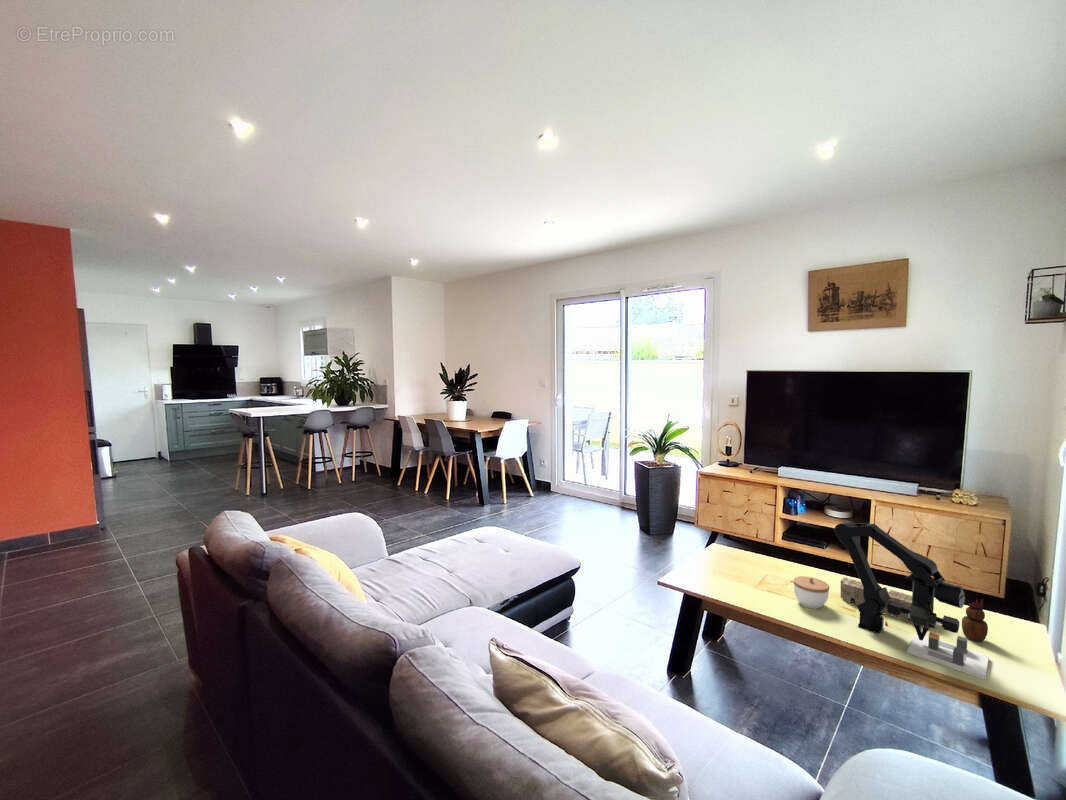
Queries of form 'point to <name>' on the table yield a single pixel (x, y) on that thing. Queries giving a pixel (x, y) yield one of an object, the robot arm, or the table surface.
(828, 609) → the table surface
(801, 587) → the lidded bowl
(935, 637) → the block
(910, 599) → the block tower
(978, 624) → the wooden figurine
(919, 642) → the panel
